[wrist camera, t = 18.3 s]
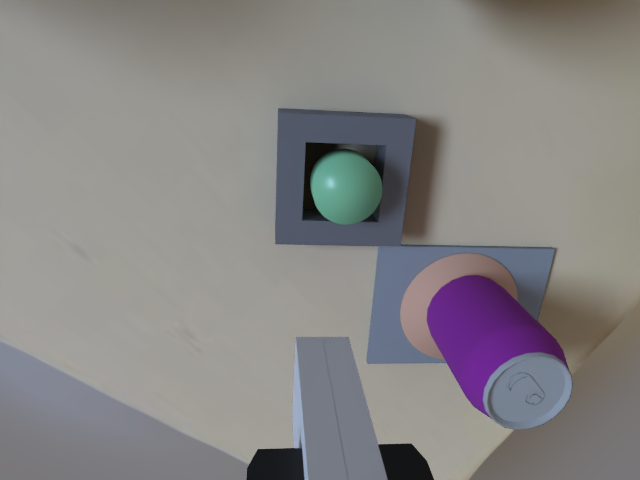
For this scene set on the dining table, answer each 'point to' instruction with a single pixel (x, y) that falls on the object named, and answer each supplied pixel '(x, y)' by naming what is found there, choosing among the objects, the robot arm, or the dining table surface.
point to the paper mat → (425, 281)
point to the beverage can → (499, 353)
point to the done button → (345, 186)
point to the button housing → (343, 129)
